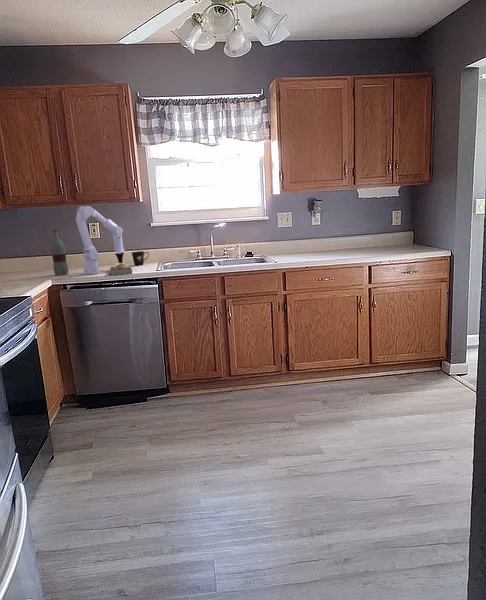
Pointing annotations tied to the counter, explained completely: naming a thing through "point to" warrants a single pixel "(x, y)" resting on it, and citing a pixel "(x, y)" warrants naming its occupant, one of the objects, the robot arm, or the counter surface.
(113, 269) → the plate
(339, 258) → the counter surface
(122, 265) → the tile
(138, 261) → the coffee mug
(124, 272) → the box
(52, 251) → the bottle
